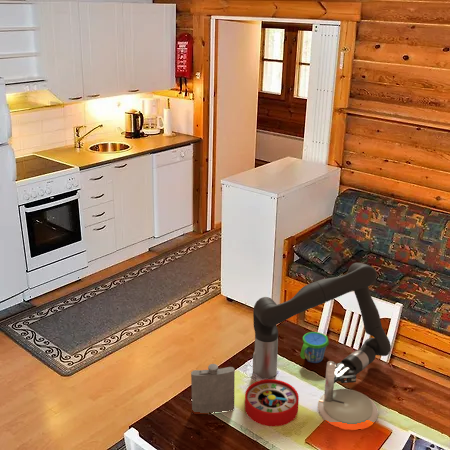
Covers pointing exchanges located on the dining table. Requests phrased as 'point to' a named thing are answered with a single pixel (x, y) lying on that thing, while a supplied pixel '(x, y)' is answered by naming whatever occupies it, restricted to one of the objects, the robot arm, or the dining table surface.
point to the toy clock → (271, 402)
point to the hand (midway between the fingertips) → (328, 382)
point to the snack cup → (314, 346)
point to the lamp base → (328, 418)
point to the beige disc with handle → (344, 401)
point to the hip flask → (213, 389)
